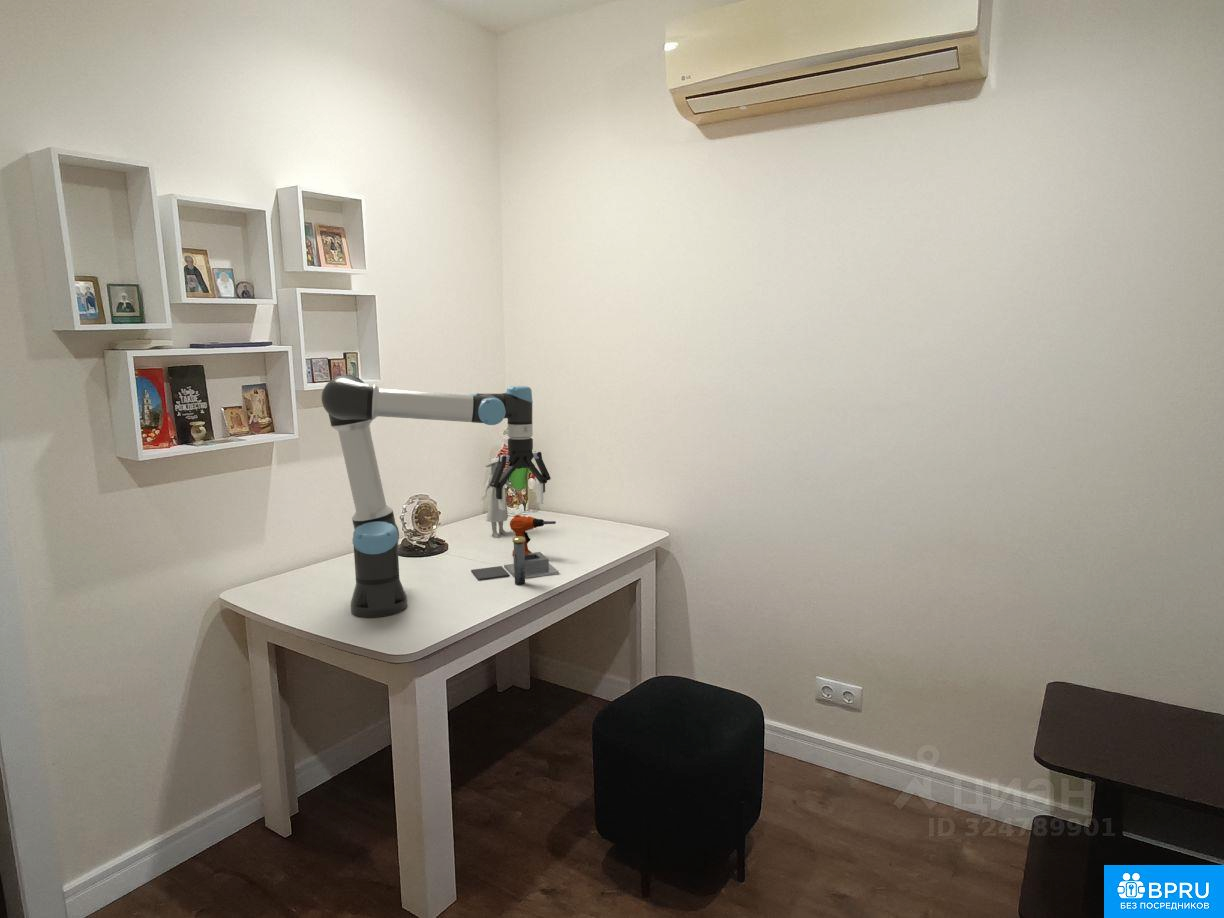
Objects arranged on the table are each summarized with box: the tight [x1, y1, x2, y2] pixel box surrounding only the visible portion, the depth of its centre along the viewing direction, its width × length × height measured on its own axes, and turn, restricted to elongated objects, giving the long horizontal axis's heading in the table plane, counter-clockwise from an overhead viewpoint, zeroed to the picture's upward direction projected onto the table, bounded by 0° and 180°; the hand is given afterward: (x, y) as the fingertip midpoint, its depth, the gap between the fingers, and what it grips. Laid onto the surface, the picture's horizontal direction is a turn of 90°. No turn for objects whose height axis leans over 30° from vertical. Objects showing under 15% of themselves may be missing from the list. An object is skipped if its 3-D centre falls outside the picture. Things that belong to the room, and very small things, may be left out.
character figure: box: [481, 456, 516, 538], centre depth 287 cm, size 17×8×30 cm, turn 142°
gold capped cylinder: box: [512, 536, 526, 586], centre depth 232 cm, size 4×4×14 cm
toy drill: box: [509, 514, 557, 557], centre depth 258 cm, size 5×19×15 cm, turn 63°
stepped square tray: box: [503, 551, 560, 579], centre depth 246 cm, size 14×14×4 cm
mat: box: [470, 565, 511, 581], centre depth 243 cm, size 10×10×1 cm
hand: (521, 506), depth 233 cm, fingers open, 13 cm apart
